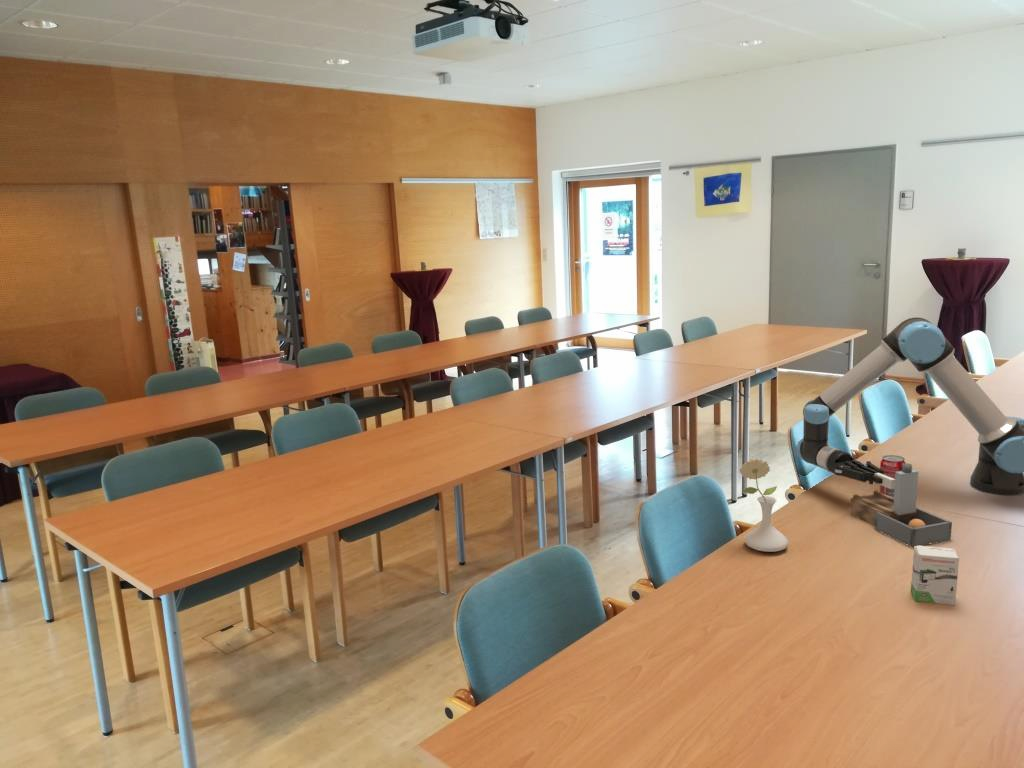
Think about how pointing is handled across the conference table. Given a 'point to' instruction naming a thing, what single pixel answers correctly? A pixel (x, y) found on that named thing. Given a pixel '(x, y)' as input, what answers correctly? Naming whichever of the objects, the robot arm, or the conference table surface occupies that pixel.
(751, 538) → the flower in vase
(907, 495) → the block with cylinder top
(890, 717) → the conference table surface
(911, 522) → the ball
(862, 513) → the wooden box
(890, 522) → the tray
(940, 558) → the ink box
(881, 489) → the soda can
